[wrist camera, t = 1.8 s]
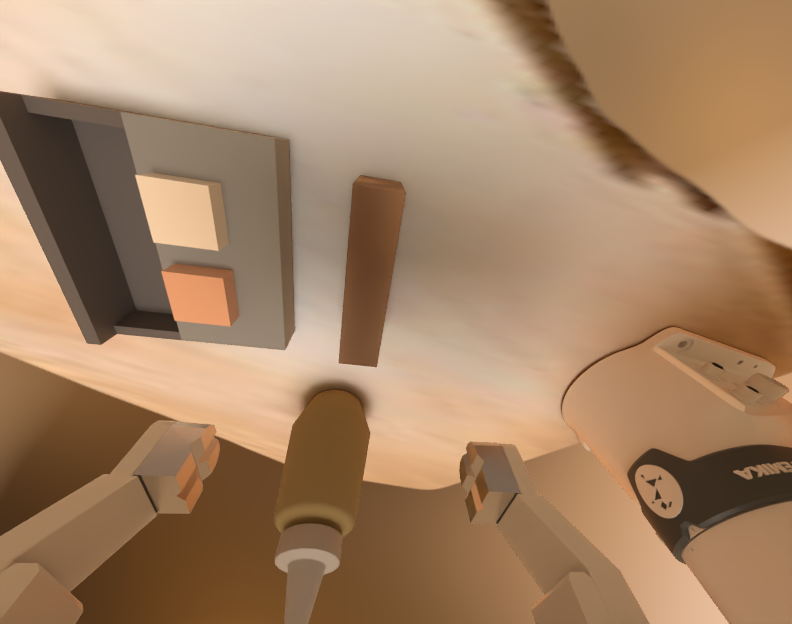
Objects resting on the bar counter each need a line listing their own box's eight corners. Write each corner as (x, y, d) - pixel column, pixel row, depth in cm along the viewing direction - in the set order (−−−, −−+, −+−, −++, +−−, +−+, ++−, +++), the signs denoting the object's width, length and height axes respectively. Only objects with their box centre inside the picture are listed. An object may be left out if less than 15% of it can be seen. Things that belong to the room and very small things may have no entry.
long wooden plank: (400, 182, 21) (405, 193, 16) (378, 326, 28) (376, 367, 23) (360, 175, 21) (353, 184, 16) (347, 322, 27) (338, 363, 22)
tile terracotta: (232, 270, 21) (223, 278, 20) (239, 316, 23) (230, 326, 22) (175, 263, 21) (161, 271, 19) (186, 310, 23) (174, 320, 21)
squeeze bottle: (322, 436, 35) (274, 663, 20) (286, 393, 32) (191, 632, 16) (382, 418, 34) (380, 645, 19) (352, 371, 30) (318, 607, 15)
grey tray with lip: (289, 139, 20) (265, 137, 16) (294, 331, 27) (279, 361, 24) (55, 99, 18) (-35, 85, 14) (131, 313, 26) (87, 343, 22)
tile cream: (220, 183, 18) (208, 185, 17) (229, 244, 20) (218, 250, 19) (153, 172, 18) (134, 174, 16) (168, 236, 20) (153, 242, 18)
